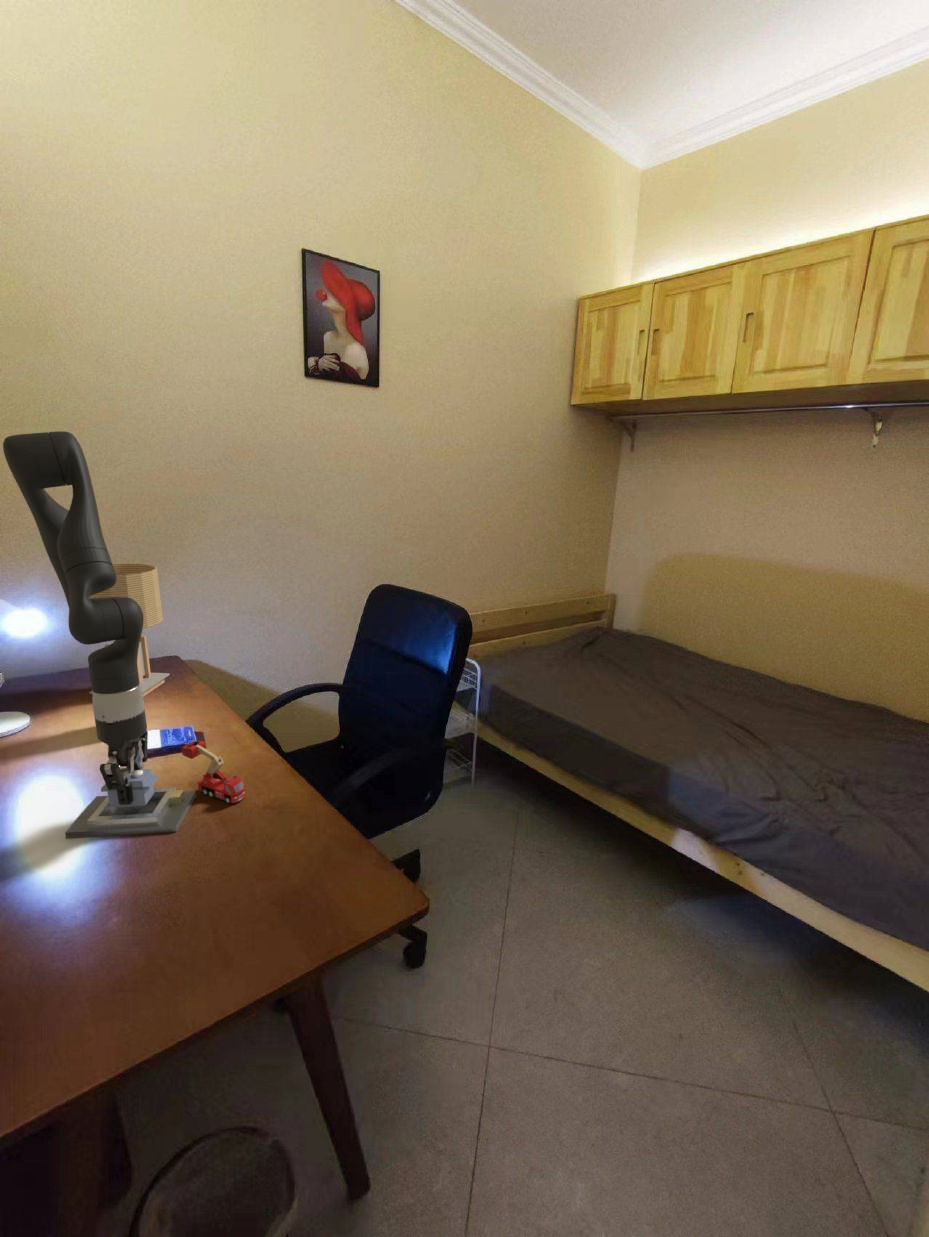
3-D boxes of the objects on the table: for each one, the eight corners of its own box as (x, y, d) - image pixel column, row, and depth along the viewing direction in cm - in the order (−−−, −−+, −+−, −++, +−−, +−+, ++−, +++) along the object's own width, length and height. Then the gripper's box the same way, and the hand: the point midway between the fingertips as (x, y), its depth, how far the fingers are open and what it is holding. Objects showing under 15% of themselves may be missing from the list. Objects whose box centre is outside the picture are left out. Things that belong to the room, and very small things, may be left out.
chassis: (97, 801, 105) (95, 789, 104) (196, 796, 107) (195, 784, 107) (66, 838, 94) (63, 825, 93) (176, 831, 97) (175, 818, 96)
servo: (114, 794, 101) (110, 768, 100) (160, 792, 102) (156, 765, 101) (103, 807, 97) (99, 779, 96) (151, 804, 99) (148, 777, 97)
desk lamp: (146, 705, 147) (130, 577, 138) (74, 702, 147) (53, 574, 138) (183, 678, 166) (171, 564, 157) (120, 676, 166) (104, 562, 157)
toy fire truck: (234, 806, 105) (231, 761, 102) (185, 787, 110) (180, 744, 108) (248, 797, 108) (244, 754, 105) (199, 779, 113) (194, 738, 111)
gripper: (115, 695, 101) (127, 776, 106) (74, 729, 88) (89, 821, 92) (158, 694, 103) (168, 774, 107) (124, 727, 89) (137, 818, 93)
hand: (131, 795), depth 100 cm, fingers closed on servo, 4 cm apart
